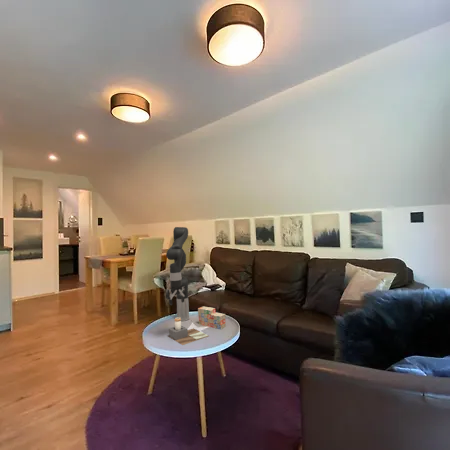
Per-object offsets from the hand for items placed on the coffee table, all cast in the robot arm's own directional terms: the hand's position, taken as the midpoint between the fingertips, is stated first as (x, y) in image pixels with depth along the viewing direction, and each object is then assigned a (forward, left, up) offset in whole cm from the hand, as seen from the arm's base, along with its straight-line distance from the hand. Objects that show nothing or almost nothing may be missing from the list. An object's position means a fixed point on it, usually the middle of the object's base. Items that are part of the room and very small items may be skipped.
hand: (176, 303), depth 185 cm
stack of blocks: (-4, +30, -24) cm, 38 cm away
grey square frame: (0, 0, -22) cm, 22 cm away
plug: (0, 0, -22) cm, 22 cm away
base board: (+4, +5, -23) cm, 24 cm away
